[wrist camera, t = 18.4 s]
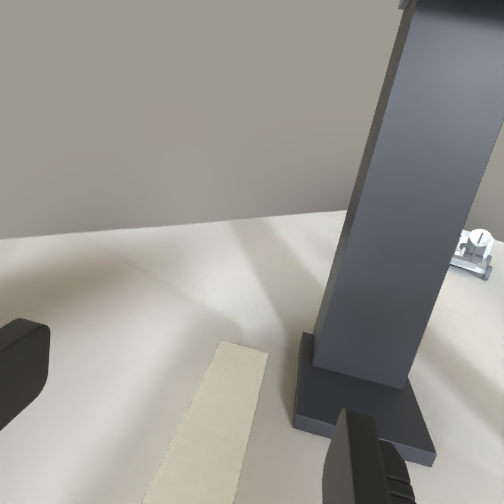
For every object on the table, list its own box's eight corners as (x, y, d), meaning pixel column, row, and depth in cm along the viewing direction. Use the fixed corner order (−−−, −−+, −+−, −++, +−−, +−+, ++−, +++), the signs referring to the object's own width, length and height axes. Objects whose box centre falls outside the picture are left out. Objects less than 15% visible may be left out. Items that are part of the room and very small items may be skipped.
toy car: (506, 237, 75) (441, 220, 80) (486, 285, 78) (425, 265, 83) (503, 227, 90) (449, 212, 95) (486, 267, 93) (435, 251, 98)
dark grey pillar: (292, 427, 29) (443, -99, 19) (300, 341, 41) (395, -6, 32) (431, 467, 28) (661, -66, 19) (397, 367, 40) (524, 16, 31)
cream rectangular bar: (-24, 892, 10) (-25, 825, 9) (213, 372, 33) (220, 337, 32) (128, 958, 10) (144, 897, 9) (262, 386, 33) (270, 350, 32)
